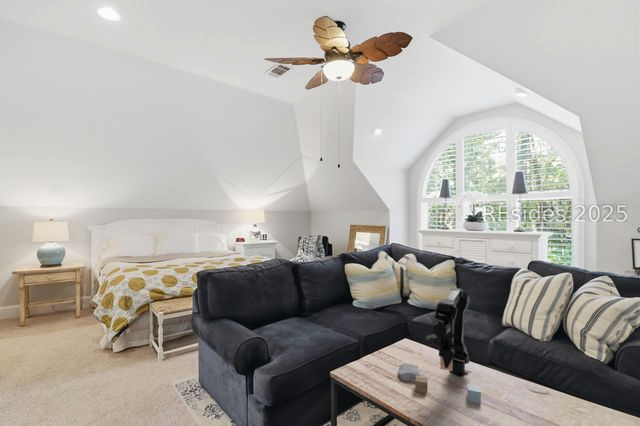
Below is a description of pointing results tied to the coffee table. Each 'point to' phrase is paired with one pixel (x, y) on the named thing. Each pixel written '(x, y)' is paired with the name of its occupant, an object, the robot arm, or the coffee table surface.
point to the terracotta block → (444, 365)
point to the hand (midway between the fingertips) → (446, 364)
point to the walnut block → (421, 384)
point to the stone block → (408, 372)
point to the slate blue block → (473, 394)
